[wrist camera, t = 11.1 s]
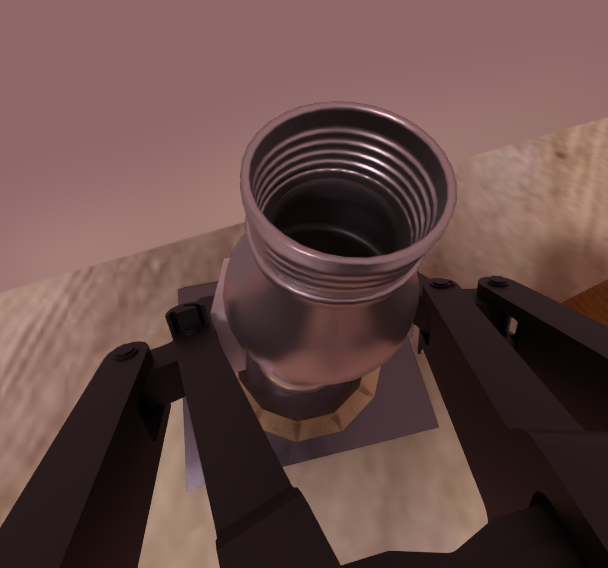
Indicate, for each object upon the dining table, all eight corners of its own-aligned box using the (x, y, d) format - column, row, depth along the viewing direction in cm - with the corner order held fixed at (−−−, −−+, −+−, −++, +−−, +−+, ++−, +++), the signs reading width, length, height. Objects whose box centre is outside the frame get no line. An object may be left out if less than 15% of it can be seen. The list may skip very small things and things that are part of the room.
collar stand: (189, 488, 21) (171, 505, 18) (180, 291, 27) (165, 275, 23) (435, 426, 24) (459, 431, 20) (378, 258, 29) (390, 240, 26)
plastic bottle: (257, 318, 24) (158, 53, 6) (335, 311, 25) (475, 53, 6) (260, 398, 22) (103, 400, 3) (346, 389, 22) (629, 347, 4)
